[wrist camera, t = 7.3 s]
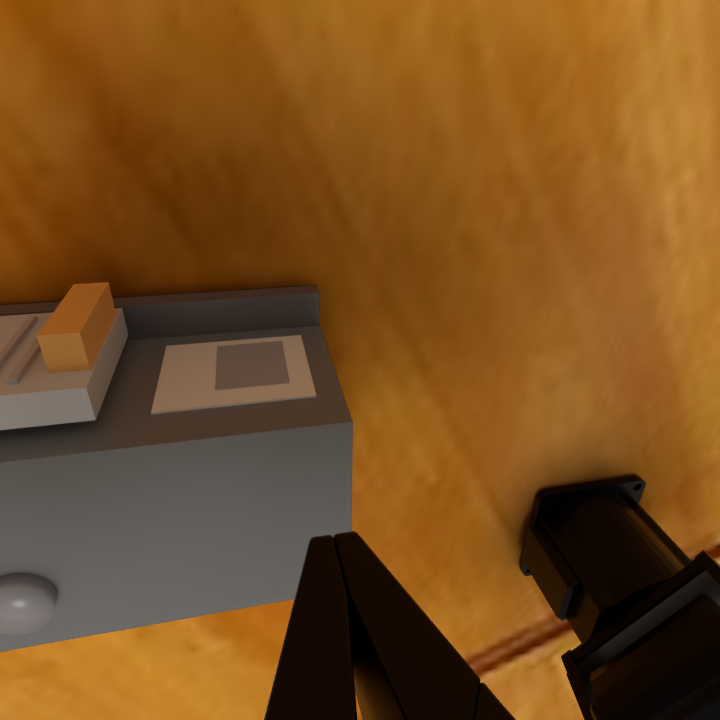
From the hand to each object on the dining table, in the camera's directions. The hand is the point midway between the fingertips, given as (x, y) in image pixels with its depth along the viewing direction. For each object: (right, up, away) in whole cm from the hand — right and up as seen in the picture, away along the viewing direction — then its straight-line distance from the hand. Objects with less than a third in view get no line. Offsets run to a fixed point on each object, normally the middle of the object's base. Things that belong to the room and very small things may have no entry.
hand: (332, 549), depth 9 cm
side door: (-10, +5, +7) cm, 13 cm away
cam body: (-7, +2, +11) cm, 13 cm away
